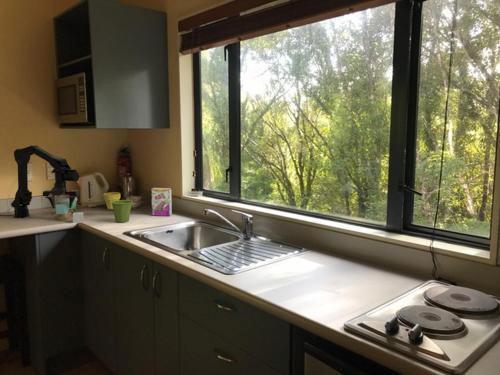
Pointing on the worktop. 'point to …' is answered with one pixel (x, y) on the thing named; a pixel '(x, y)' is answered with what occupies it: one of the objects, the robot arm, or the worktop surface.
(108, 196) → the plant pot
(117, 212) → the plant pot
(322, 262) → the worktop surface
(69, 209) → the food container
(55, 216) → the walnut block
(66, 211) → the teal cube
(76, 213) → the grey cube
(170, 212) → the candy bar box
